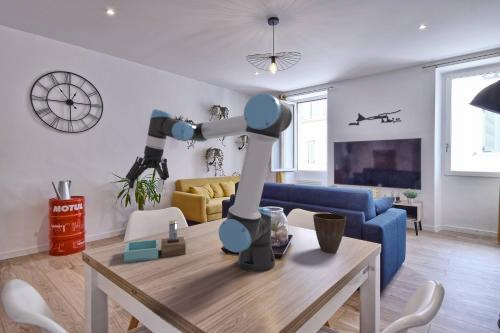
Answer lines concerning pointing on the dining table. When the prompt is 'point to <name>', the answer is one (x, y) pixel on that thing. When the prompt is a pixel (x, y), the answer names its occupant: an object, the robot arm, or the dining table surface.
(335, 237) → the plant pot
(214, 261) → the dining table surface
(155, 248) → the pin tray
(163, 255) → the block
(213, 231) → the dining table surface
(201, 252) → the dining table surface
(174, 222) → the steel pin
